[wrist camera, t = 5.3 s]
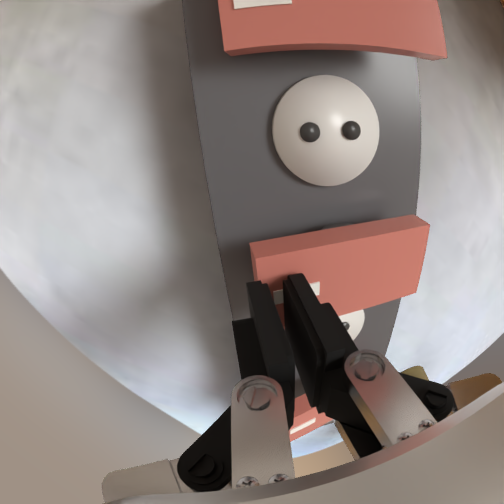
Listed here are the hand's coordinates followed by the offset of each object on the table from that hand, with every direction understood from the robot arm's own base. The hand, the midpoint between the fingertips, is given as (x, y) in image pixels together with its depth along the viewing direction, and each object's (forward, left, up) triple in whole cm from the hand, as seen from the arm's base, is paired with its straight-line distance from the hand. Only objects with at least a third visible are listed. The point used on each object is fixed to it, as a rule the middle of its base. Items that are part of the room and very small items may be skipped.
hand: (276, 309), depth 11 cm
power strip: (0, +3, -6) cm, 7 cm away
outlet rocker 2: (-1, +3, -2) cm, 4 cm away
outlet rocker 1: (-11, +4, -2) cm, 12 cm away
